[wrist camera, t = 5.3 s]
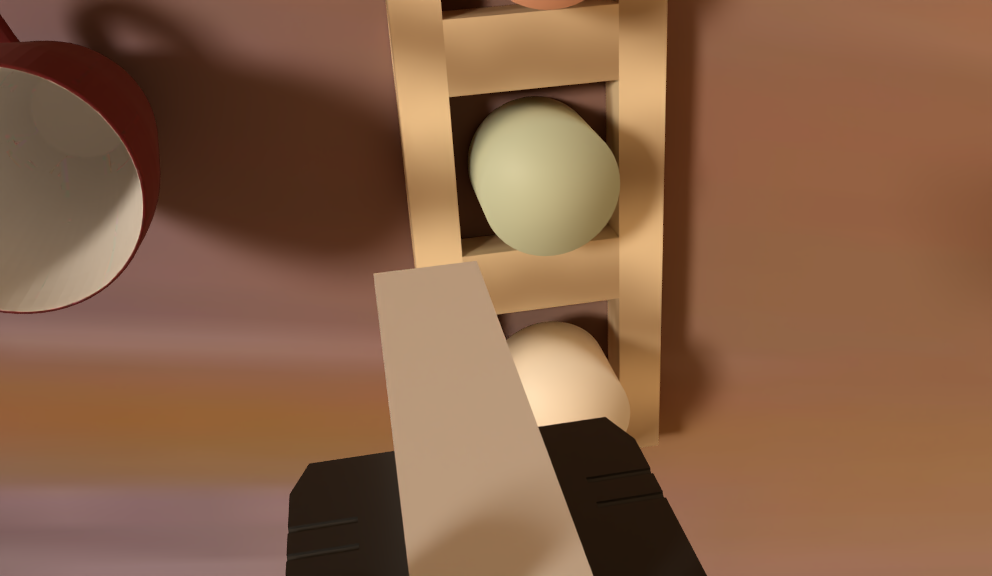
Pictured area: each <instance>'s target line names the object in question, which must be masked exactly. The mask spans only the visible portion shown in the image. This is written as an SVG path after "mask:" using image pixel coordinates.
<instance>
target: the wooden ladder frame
mask: <svg viewBox="0 0 992 576" xmlns="http://www.w3.org/2000/svg"><path fill="white" fill-rule="evenodd" d="M385 1H386V10H387V19H388V28H389V37H390V46H391V56H392V65H393V74H394V83H395V92H396V101H397V111H398V120H399V129H400V138H401V147H402V156H403V166H404V175H405V184H406V193H407V202H408V211H409V221H410V230H411V239H412V248H413V257H414V266H415V268H423V267H431V266H439V265H447V264H455V263H463V262H471V261H477V263H478V266H479V268H480V271H481V274H482V276H483V279H484V282H485V285H486V287H487V290H488V293H489V295H490V298H491V301H492V304H493V306H494V309H495V312H496V314H504V313H512V312H520V311H527V310H535V309H542V308H550V307H557V306H565V305H572V304H580V303H587V302H595V301H603V300H608V362H609V364H610V365H611V367H612V369H613V371H614V373H615V374H616V376H617V378H618V380H619V382H620V384H621V385H622V387H623V389H624V391H625V393H626V395H627V397H628V401H629V405H630V421H629V425H628V428H627V431H626V433H628V434H629V435H630V436H632V437H633V438H635V440H636V442H637V444H638V446H639V447H640V448H644V447H650V446H657V445H659V401H660V352H661V302H662V253H663V204H664V155H665V106H666V57H667V8H668V0H584V1H582V2H580V3H577V4H575V5H573V6H569V7H566V8H561V9H555V10H540V9H532V8H529V7H525V6H522V5H519V4H516V5H505V6H494V7H483V8H472V9H461V10H450V11H442V9H441V0H385ZM601 81H606V144H607V146H608V147H609V148H610V150H611V151H612V153H613V155H614V157H615V159H616V162H617V165H618V169H619V174H620V192H619V197H618V202H617V205H616V208H615V210H614V212H613V214H612V216H611V218H610V220H609V221H608V223H607V224H606V226H605V227H604V228H603V229H602V230H601V232H600V233H598V234H597V235H596V236H595V237H594V238H593V239H592V240H590V241H589V242H588V243H586V244H585V245H583V246H581V247H580V248H577V249H575V250H573V251H570V252H567V253H564V254H560V255H554V256H536V255H531V254H526V253H523V252H520V251H518V250H516V249H514V248H512V247H510V246H509V245H507V244H506V243H505V242H504V241H502V240H501V239H500V238H499V237H498V236H497V235H490V236H481V237H473V238H465V239H461V236H460V224H459V212H458V200H457V188H456V176H455V164H454V152H453V140H452V128H451V116H450V105H449V97H455V96H464V95H474V94H484V93H494V92H504V91H513V90H523V89H533V88H543V87H552V86H562V85H572V84H582V83H591V82H601Z"/></svg>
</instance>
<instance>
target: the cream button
mask: <svg viewBox="0 0 992 576" xmlns="http://www.w3.org/2000/svg"><path fill="white" fill-rule="evenodd" d="M506 341H507V344H508V347H509V349H510V352H511V355H512V358H513V360H514V363H515V366H516V368H517V371H518V374H519V377H520V379H521V382H522V385H523V387H524V390H525V393H526V395H527V398H528V401H529V404H530V406H531V409H532V412H533V414H534V417H535V420H536V422H537V425H538V427H540V426H546V425H553V424H560V423H567V422H573V421H580V420H587V419H594V418H600V417H606V418H608V419H609V420H610V421H612V422H613V423H614V424H616V425H617V426H618V427H620V428H621V429H622V430H624V431H625V432H626V431H627V428H628V425H629V421H630V405H629V401H628V397H627V395H626V393H625V391H624V389H623V387H622V385H621V384H620V382H619V380H618V378H617V376H616V374H615V373H614V371H613V369H612V367H611V365H610V364H609V362H608V360H607V358H606V356H605V355H604V353H603V351H602V349H601V347H600V346H599V344H598V342H597V341H596V340H595V339H594V337H593V336H592V335H590V334H589V333H588V332H587V331H585V330H584V329H582V328H580V327H578V326H576V325H573V324H570V323H565V322H557V321H550V322H542V323H537V324H534V325H530V326H528V327H526V328H523V329H521V330H520V331H518V332H516V333H515V334H513V335H512V336H511V337H509V338H508V339H507V340H506Z"/></svg>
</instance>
